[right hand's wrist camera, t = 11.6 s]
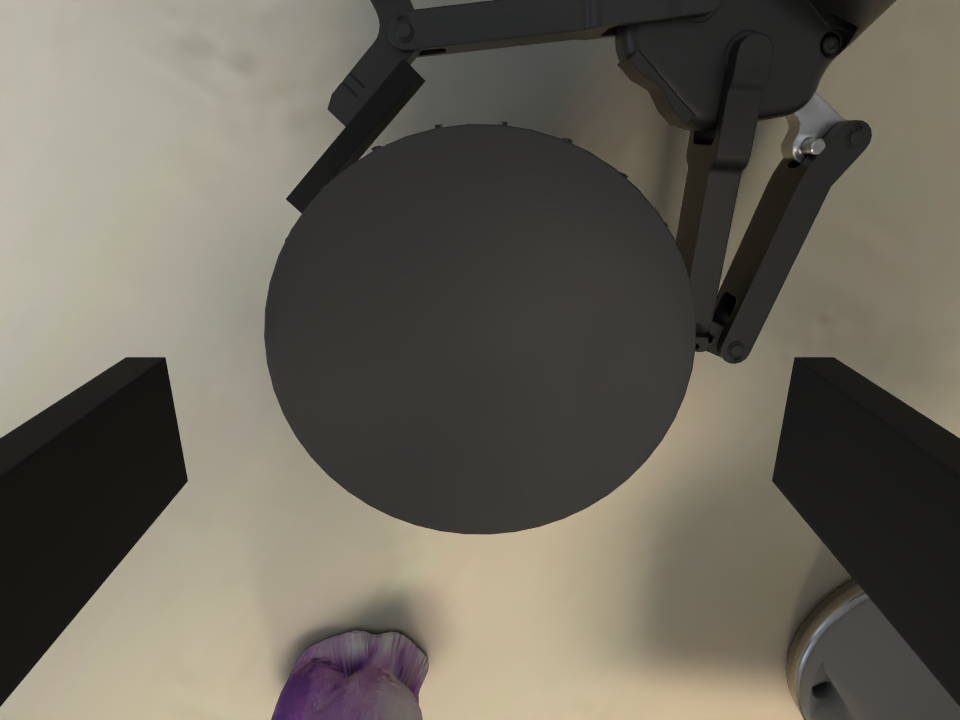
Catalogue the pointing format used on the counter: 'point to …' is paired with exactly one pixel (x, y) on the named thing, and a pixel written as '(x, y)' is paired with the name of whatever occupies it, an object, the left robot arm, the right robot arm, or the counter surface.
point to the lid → (480, 329)
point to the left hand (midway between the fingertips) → (431, 319)
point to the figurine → (355, 679)
